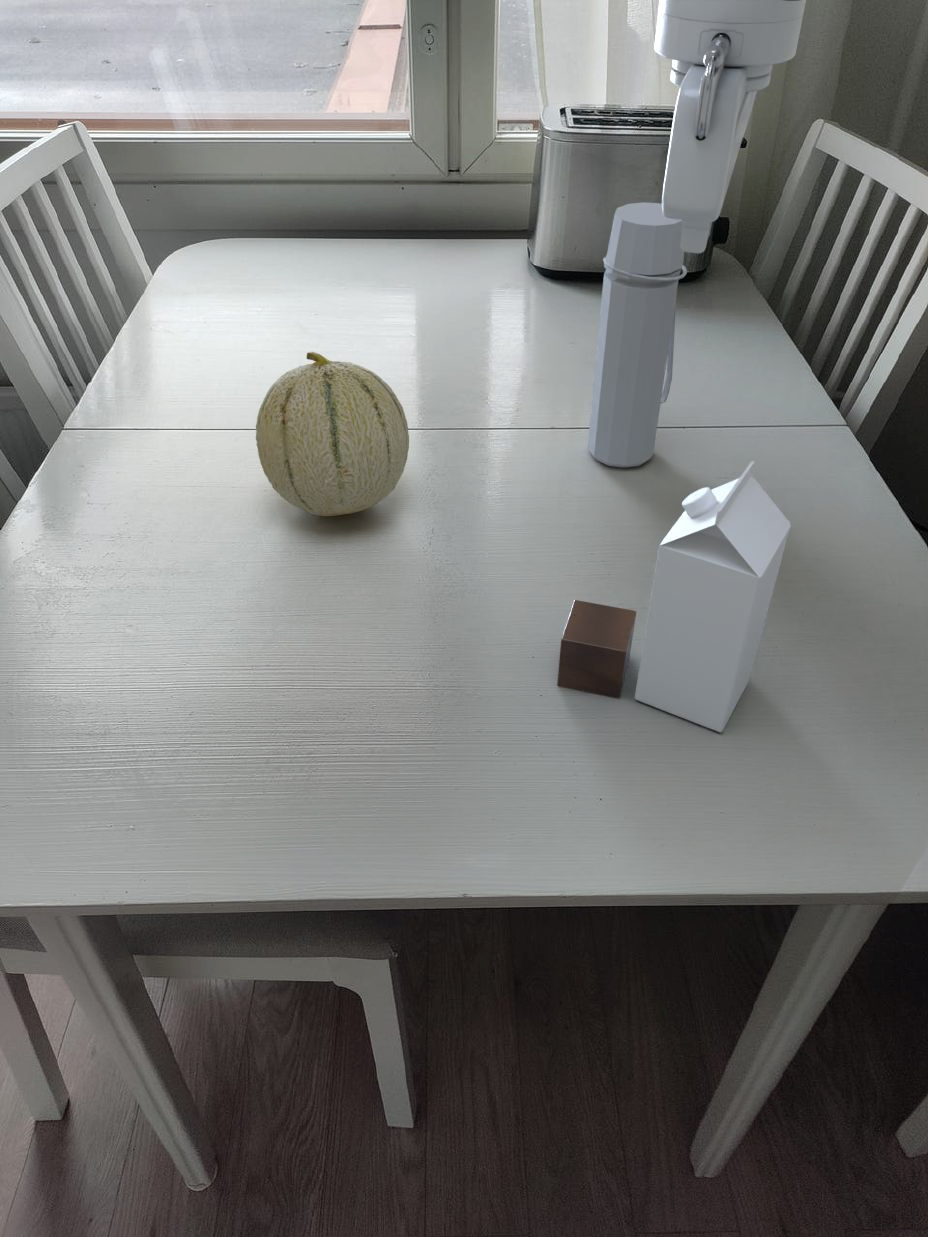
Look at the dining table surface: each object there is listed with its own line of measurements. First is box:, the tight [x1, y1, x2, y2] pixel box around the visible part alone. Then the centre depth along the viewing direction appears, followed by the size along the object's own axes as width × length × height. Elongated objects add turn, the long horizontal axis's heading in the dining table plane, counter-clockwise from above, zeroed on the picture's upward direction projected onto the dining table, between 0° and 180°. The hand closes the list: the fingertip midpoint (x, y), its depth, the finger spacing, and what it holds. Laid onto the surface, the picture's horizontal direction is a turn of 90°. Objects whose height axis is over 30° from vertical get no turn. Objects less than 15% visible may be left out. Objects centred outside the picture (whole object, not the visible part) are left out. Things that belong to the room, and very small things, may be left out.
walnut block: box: [556, 599, 637, 699], centre depth 76 cm, size 5×5×5 cm
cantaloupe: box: [255, 351, 410, 517], centre depth 91 cm, size 15×15×15 cm
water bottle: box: [587, 201, 688, 469], centre depth 95 cm, size 9×8×25 cm
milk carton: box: [634, 460, 792, 733], centre depth 69 cm, size 7×7×19 cm
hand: (694, 246), depth 69 cm, fingers closed
